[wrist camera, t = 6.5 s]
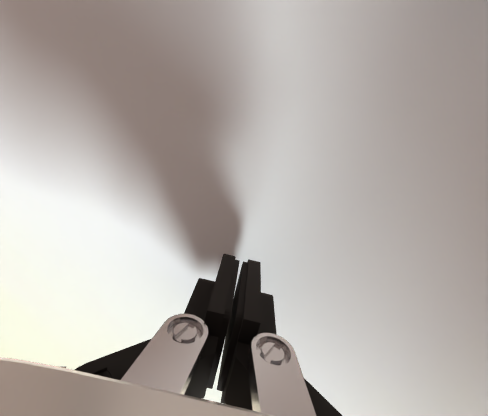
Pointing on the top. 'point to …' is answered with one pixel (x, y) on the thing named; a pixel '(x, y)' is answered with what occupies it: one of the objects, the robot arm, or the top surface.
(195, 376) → the robot arm
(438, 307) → the top surface
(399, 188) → the top surface
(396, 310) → the top surface
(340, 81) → the top surface
